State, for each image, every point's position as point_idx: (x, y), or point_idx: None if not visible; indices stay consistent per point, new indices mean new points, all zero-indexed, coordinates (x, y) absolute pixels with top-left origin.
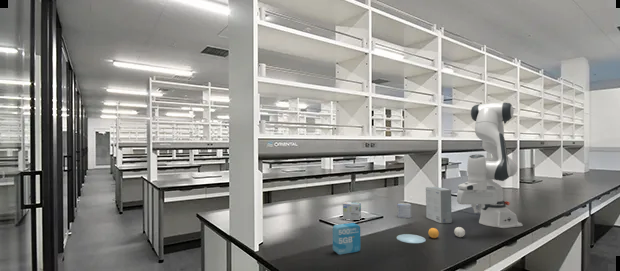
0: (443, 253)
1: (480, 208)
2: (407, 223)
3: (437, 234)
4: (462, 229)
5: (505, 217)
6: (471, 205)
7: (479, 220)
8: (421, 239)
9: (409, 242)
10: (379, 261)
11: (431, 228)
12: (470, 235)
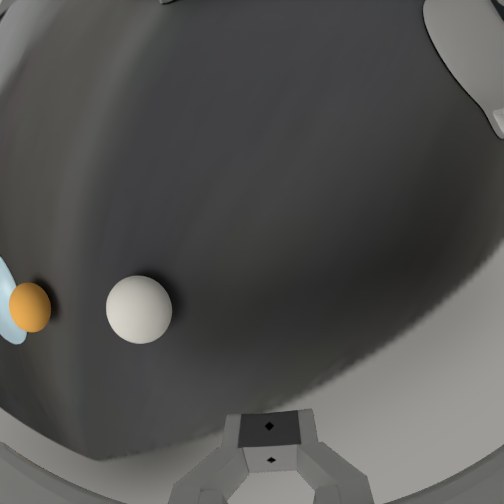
0: (79, 424)
1: (309, 482)
2: (18, 62)
3: (42, 328)
4: (141, 341)
5: None
6: (172, 490)
7: (431, 5)
8: None
9: (2, 335)
10: (4, 403)
11: (10, 314)
12: (232, 268)
